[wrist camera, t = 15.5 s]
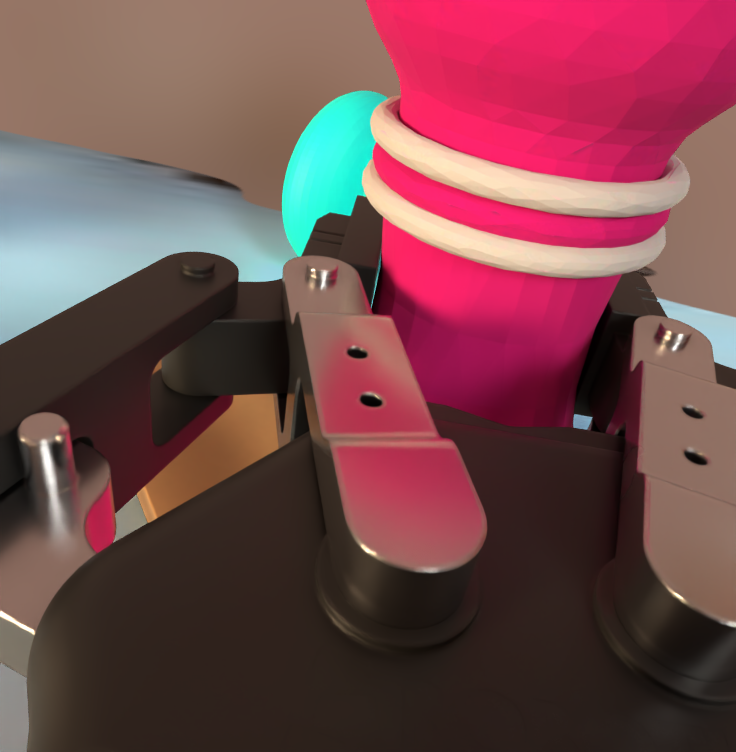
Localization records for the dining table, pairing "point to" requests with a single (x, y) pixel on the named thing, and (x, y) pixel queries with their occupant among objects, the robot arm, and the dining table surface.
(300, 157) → the turquoise spool
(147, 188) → the dining table surface
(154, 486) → the oak board
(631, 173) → the pepper mill
